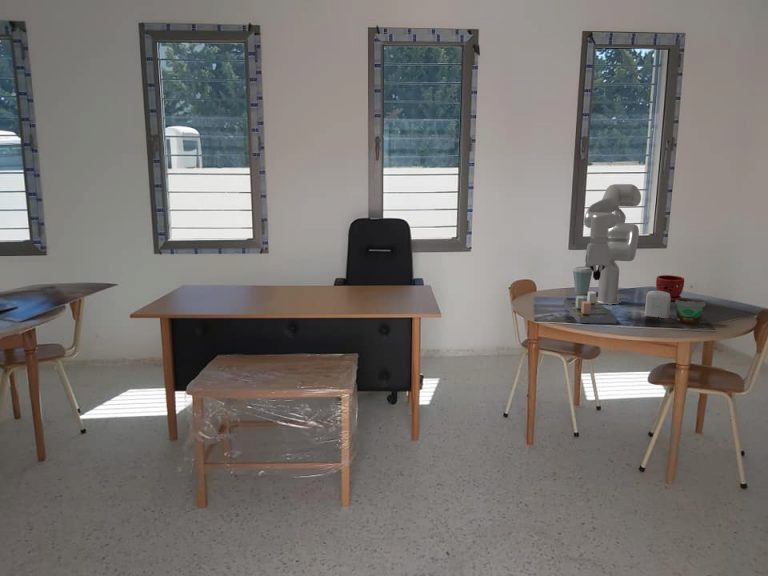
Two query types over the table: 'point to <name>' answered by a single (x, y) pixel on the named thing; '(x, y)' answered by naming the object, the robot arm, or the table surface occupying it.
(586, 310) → the slider terracotta
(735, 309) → the table surface
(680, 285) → the plant pot
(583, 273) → the disposable coffee cup
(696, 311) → the food container
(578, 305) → the slider sage
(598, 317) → the grey slotted slider board
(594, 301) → the slider ivory
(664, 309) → the photo printer
